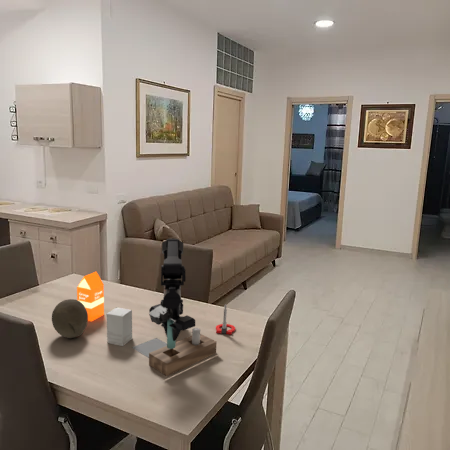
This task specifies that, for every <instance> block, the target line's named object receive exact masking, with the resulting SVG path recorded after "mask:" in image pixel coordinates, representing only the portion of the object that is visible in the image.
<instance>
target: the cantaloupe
mask: <svg viewBox="0 0 450 450" xmlns="http://www.w3.org/2000/svg"><path fill="white" fill-rule="evenodd" d="M51 322H52V326H53V328H54V330H55V331H56V333H58V334H59V335H60V336H61V337H64V338H67V339H74V338H77V337H79V336H81V335H82V334H83V333H84V332H85V330H86V328H87V325H88V322H89V321H88V313H87V310H86V308H85V306H84V305H83V304H82V303H81V302H80V301H78V300H77V299H64V300H61V301H60V302H59V303H58V304H57V305H56V306H55V307H54V309H53V310H52V314H51Z"/></svg>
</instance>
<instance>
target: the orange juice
mask: <svg viewBox="0 0 450 450" xmlns="http://www.w3.org/2000/svg"><path fill="white" fill-rule="evenodd" d="M104 286H105V285H104V282H103V281H102V279H101V277H100V274H98V272H97V271H93V272H92V273H89V274H85V275H84V276H83V278H82V279H81V280H80V282H79V283H78V285H77V287H76V296H77V298H76V300H78V301H80V302H81V303H82V304H83V305H84V306H85V308H86V310H87V313H88V322H93V321H95V320H97V319H99V318H101V317H102V316H104V315H105V296H104V295H105V294H104V290H105V289H104V288H105V287H104Z"/></svg>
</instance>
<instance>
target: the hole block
mask: <svg viewBox="0 0 450 450" xmlns="http://www.w3.org/2000/svg"><path fill="white" fill-rule="evenodd" d="M215 354H217V341H216V340H214V339H212V338H210V337H207V336H205V335H204V334H202V333H200V344H199V345H197V346H195V345H193V344H192V335H190V336H187V337H185V338H182V339H180V340H178V341H176V347H175V348H173V349H169V348H167V346H165V347H163V348H160V349H158V350H155V351H153V352H150V353H149V358H148V365H149V366H150V367H152V368H153V369H154V370H156V371H158V372H159V373H161V374H163V375H164V376H166V377H168V376H170V375H173V374H175V373H177V372H178V371H181V370H183V369H185V368H187V367H189V366H192V365H194V364H196V363H198V362H199V361H200V362H201V361H202V360H204V359H206V358H208V357H210V356H212V355H215Z"/></svg>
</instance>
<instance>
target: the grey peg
mask: <svg viewBox="0 0 450 450" xmlns="http://www.w3.org/2000/svg"><path fill="white" fill-rule="evenodd" d="M191 330H192V331H191V336H192V344H193V345H195V346H197V345H199V344H200V334H201V328H199V327H192V329H191Z"/></svg>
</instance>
